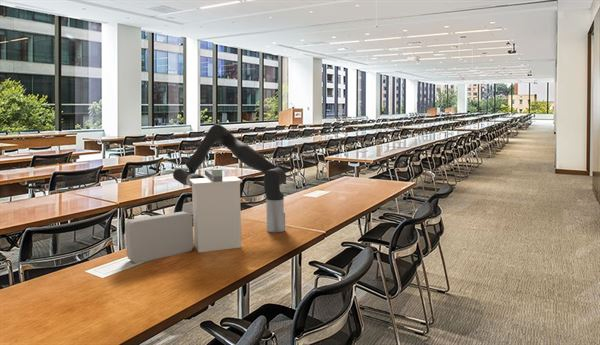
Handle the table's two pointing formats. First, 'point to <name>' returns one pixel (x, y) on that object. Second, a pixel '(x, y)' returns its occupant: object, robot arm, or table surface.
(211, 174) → the bar
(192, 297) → the table surface
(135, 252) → the rounded white slab
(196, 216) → the tall stand
